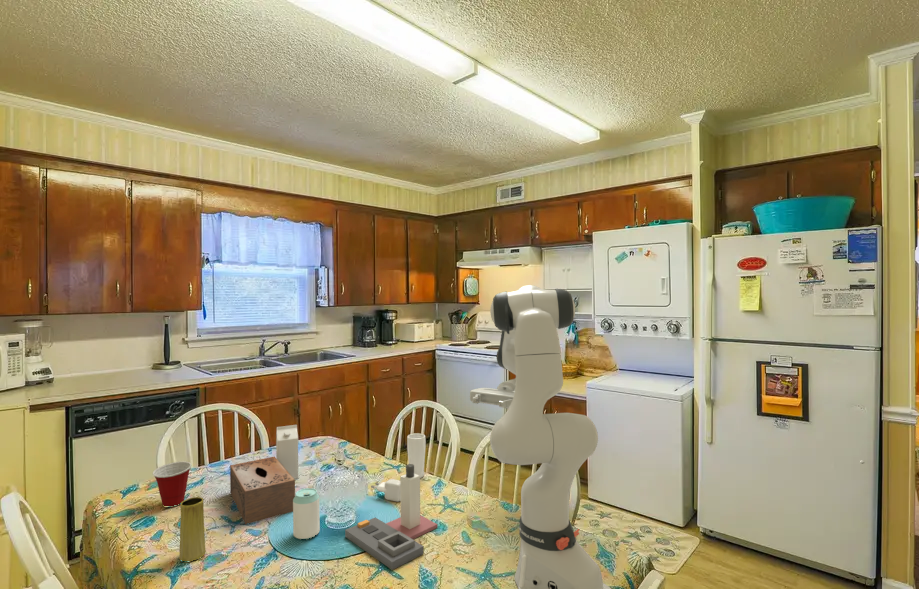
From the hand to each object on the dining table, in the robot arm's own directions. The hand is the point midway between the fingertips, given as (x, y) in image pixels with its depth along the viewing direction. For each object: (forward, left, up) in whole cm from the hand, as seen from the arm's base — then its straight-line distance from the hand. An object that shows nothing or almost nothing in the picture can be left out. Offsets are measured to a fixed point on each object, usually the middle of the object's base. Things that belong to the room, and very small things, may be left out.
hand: (487, 402), depth 140 cm
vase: (+41, +70, -35) cm, 88 cm away
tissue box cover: (+60, +45, -35) cm, 82 cm away
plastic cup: (+79, +66, -35) cm, 108 cm away
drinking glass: (+40, -4, -35) cm, 53 cm away
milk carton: (+74, +30, -35) cm, 87 cm away
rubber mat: (+12, +21, -35) cm, 42 cm away
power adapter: (+33, +14, -35) cm, 50 cm away
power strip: (+10, +32, -35) cm, 48 cm away
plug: (+12, +21, -34) cm, 41 cm away
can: (+30, +44, -35) cm, 63 cm away
